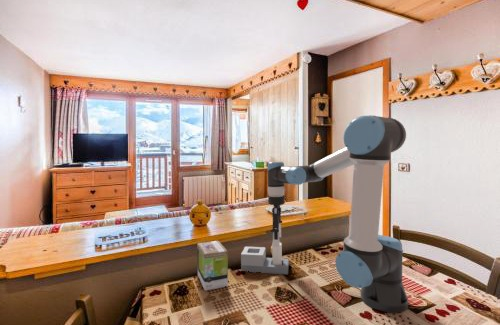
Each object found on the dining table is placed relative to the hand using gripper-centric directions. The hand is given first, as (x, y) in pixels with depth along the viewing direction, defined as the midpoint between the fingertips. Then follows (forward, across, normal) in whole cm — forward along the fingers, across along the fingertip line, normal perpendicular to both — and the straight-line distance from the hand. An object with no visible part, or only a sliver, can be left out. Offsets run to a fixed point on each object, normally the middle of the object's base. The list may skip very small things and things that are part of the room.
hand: (277, 241), depth 122 cm
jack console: (+13, 0, +6) cm, 14 cm away
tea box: (+13, -15, +27) cm, 33 cm away
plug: (+13, 0, 0) cm, 13 cm away
